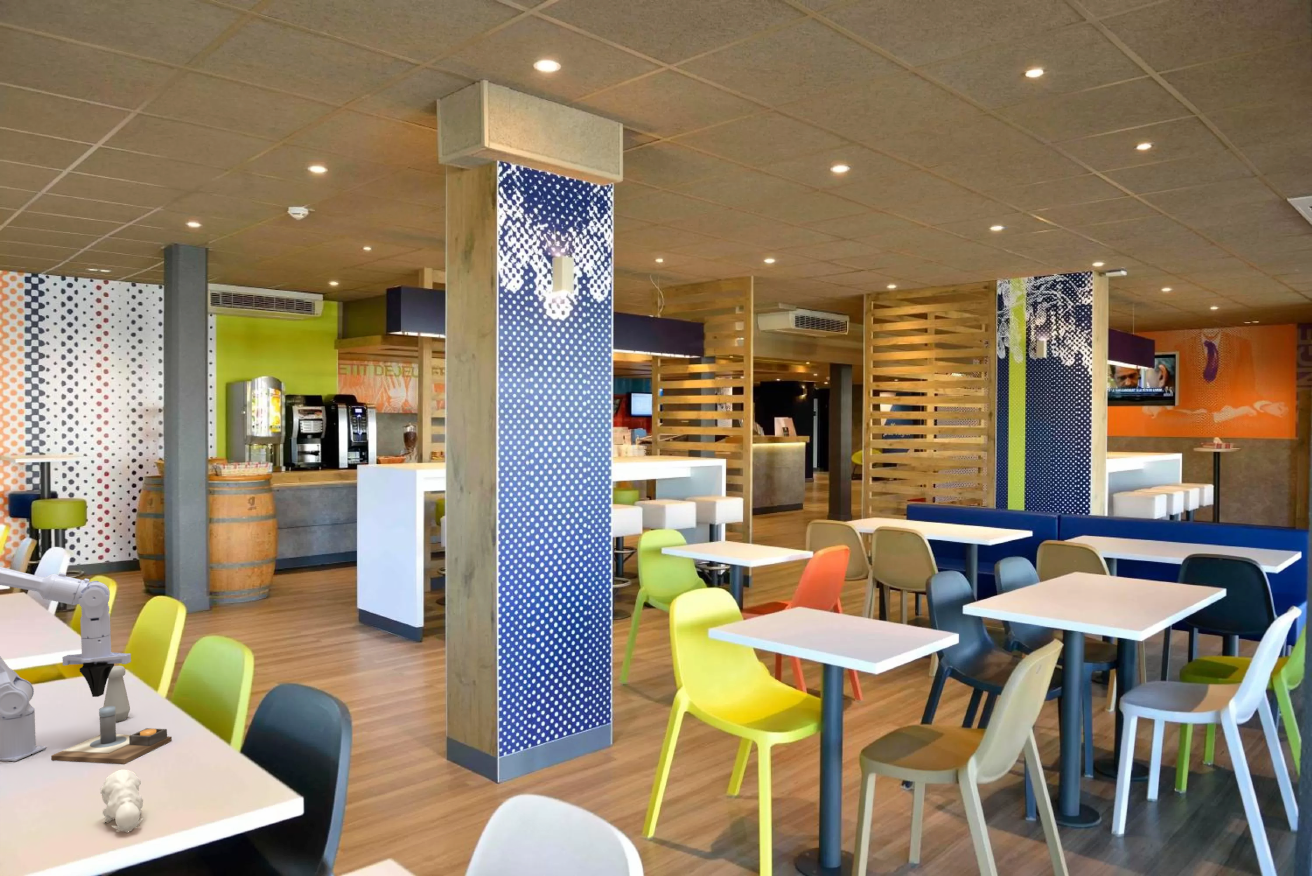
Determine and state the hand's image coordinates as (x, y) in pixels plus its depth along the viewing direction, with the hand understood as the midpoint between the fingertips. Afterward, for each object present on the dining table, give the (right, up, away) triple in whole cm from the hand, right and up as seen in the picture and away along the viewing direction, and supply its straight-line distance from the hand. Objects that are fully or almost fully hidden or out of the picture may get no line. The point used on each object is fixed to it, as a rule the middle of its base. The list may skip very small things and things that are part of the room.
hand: (98, 695), depth 206 cm
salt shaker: (-5, -11, +15) cm, 19 cm away
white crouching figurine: (+32, -10, -45) cm, 56 cm away
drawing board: (+7, -10, -6) cm, 14 cm away
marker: (+5, -9, -4) cm, 11 cm away
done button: (+14, -9, -4) cm, 17 cm away
